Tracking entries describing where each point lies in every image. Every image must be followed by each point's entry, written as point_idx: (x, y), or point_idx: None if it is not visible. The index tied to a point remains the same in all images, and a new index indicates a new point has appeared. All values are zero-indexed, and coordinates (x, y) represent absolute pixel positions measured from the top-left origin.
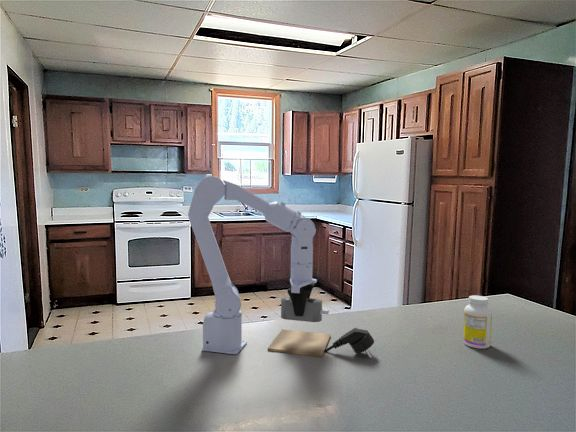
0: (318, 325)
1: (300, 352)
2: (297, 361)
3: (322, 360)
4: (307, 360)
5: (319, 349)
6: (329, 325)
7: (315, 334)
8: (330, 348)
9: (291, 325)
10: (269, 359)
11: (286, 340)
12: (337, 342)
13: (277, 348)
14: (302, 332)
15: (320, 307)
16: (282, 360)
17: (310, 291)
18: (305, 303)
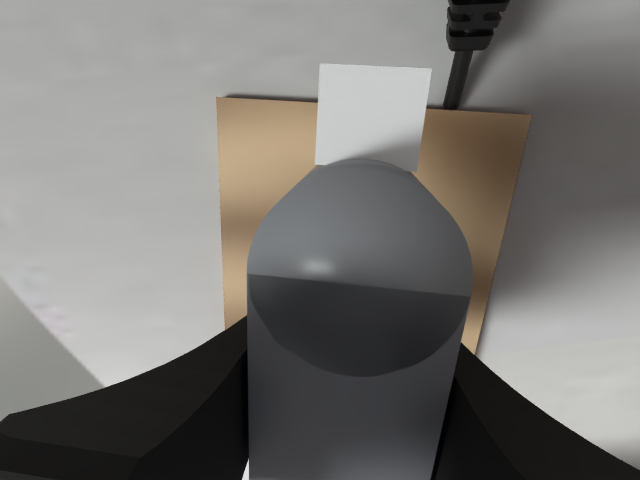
0: (84, 184)
1: (501, 234)
2: (587, 235)
3: (574, 107)
4: (574, 188)
5: (460, 138)
6: (58, 121)
7: (244, 185)
8: (468, 68)
9: (139, 313)
10: (564, 354)
11: None
12: (507, 3)
13: (466, 342)
14: (236, 255)
15: (414, 178)
16: (575, 302)
17: (196, 416)
18: (460, 380)
